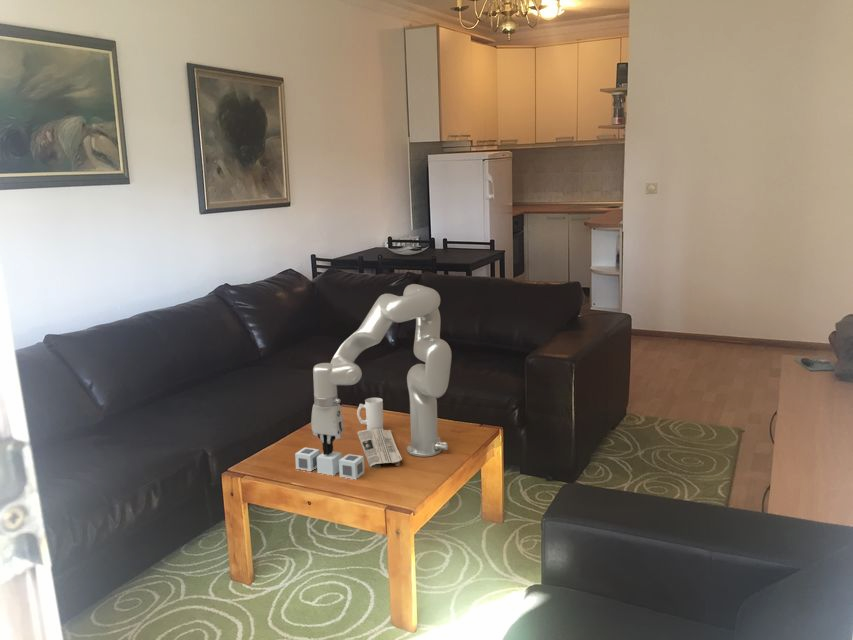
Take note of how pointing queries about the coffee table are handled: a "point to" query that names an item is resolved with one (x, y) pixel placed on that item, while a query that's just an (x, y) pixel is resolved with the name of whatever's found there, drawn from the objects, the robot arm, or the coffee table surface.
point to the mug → (372, 413)
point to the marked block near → (351, 466)
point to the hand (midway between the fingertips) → (328, 453)
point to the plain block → (328, 463)
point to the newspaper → (379, 447)
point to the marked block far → (307, 459)
